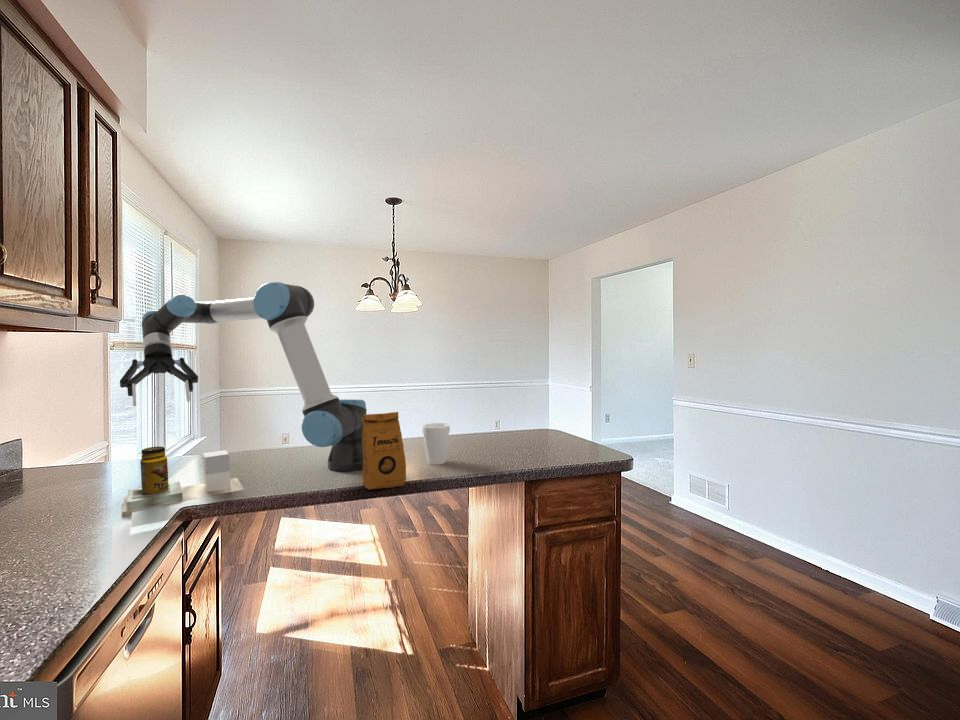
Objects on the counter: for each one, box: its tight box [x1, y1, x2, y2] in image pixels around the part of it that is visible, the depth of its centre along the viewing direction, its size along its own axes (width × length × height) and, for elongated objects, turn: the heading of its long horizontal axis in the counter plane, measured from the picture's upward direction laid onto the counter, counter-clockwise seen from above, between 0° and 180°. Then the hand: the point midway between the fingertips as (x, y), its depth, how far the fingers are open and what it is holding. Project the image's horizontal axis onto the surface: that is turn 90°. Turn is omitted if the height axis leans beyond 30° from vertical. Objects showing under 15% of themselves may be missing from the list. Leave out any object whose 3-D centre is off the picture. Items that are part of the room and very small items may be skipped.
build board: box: [121, 477, 245, 518], centre depth 132 cm, size 28×14×3 cm, turn 126°
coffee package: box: [362, 411, 407, 490], centre depth 139 cm, size 10×12×22 cm
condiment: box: [132, 445, 170, 498], centre depth 127 cm, size 7×8×12 cm
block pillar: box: [202, 449, 231, 492], centre depth 137 cm, size 6×6×10 cm
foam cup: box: [422, 422, 451, 466], centre depth 164 cm, size 10×9×13 cm
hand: (162, 401), depth 143 cm, fingers open, 13 cm apart
